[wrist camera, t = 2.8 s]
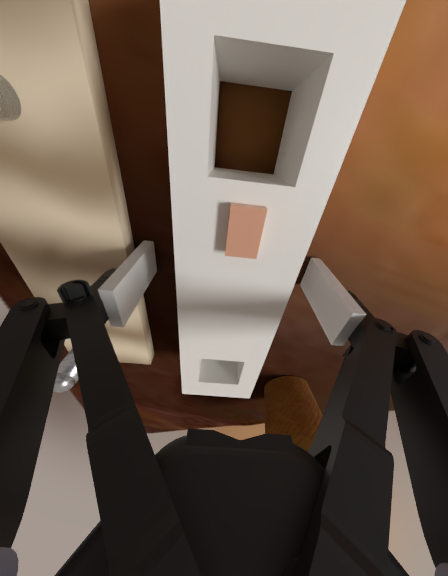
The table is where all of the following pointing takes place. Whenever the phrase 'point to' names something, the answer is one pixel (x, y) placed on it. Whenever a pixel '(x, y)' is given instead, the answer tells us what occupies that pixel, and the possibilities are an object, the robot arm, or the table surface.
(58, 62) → the hanger board
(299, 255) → the power strip
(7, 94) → the chrome knobs
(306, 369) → the table surface
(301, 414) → the disposable coffee cup
